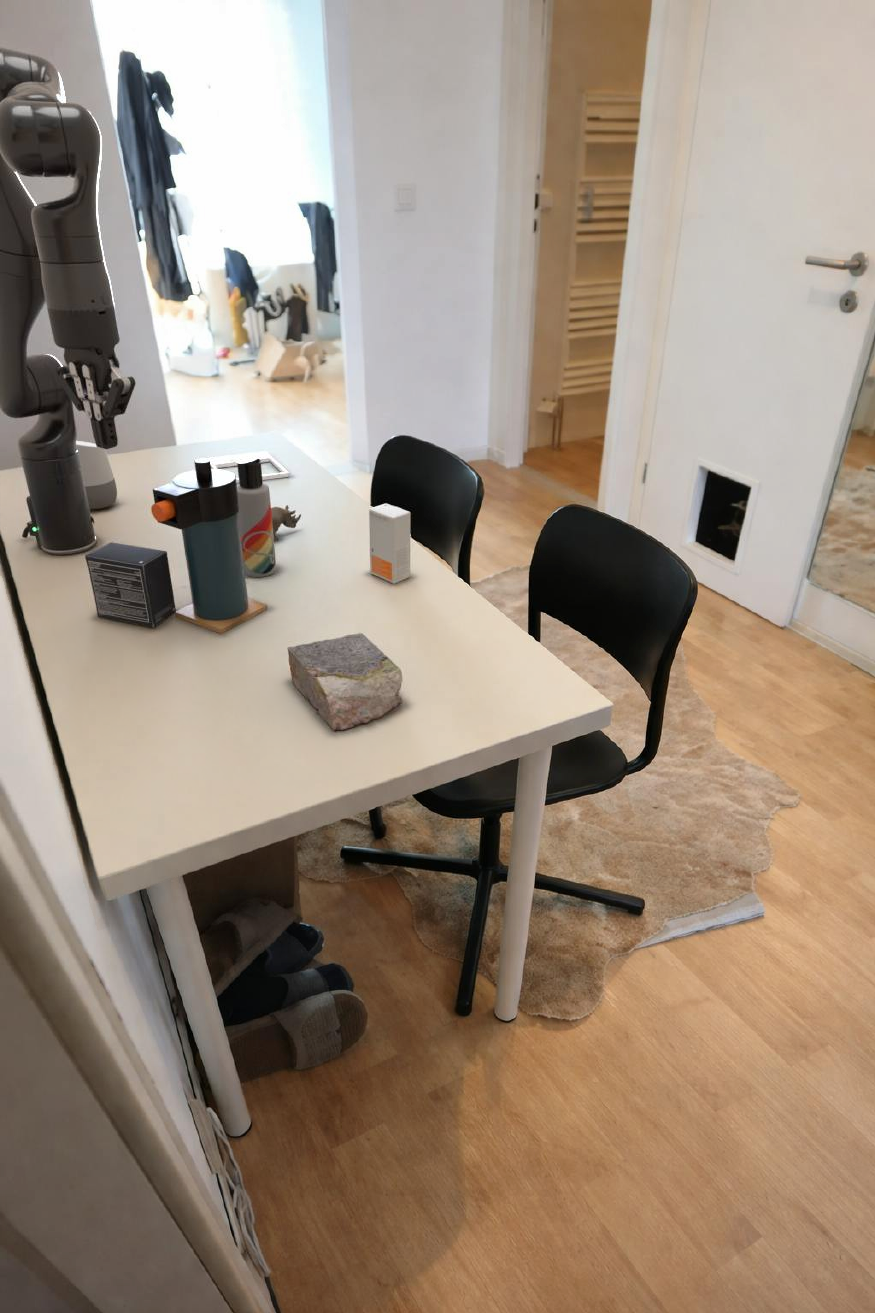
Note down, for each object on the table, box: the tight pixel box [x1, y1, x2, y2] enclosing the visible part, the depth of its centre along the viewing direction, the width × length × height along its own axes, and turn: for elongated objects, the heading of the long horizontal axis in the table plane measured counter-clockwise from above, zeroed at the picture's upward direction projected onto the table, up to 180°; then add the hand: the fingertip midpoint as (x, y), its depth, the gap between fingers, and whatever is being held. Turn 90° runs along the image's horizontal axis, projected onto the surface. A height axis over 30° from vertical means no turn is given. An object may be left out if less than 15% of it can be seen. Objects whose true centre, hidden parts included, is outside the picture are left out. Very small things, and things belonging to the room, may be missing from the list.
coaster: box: [174, 597, 268, 635], centre depth 130 cm, size 10×10×1 cm
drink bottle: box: [152, 457, 249, 620], centre depth 122 cm, size 12×9×24 cm
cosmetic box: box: [368, 502, 412, 585], centre depth 140 cm, size 6×4×12 cm
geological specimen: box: [287, 632, 403, 731], centre depth 109 cm, size 11×6×15 cm
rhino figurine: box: [271, 504, 302, 542], centre depth 155 cm, size 4×14×6 cm, turn 131°
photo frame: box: [206, 451, 290, 484], centre depth 191 cm, size 15×1×18 cm
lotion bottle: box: [237, 457, 277, 578], centre depth 139 cm, size 6×6×20 cm
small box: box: [84, 542, 177, 629], centre depth 126 cm, size 11×6×10 cm, turn 71°
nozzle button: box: [150, 499, 176, 522], centre depth 115 cm, size 3×3×3 cm
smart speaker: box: [76, 440, 118, 512], centre depth 166 cm, size 10×9×14 cm
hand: (107, 446), depth 107 cm, fingers closed
